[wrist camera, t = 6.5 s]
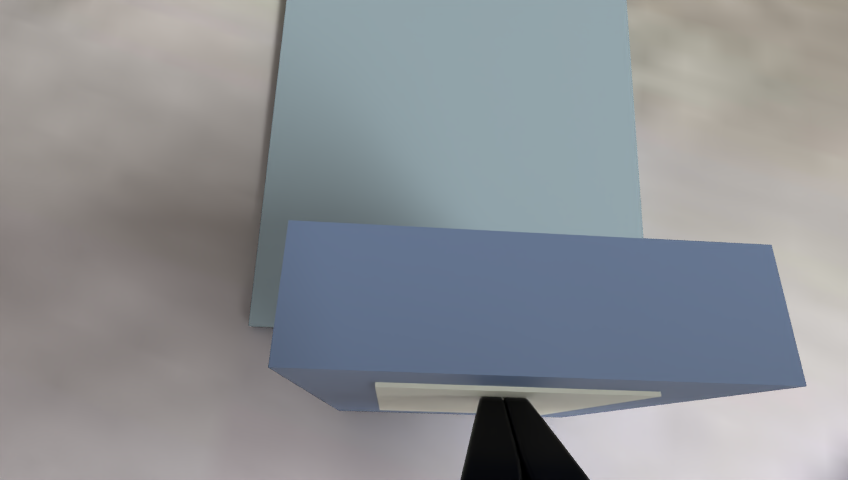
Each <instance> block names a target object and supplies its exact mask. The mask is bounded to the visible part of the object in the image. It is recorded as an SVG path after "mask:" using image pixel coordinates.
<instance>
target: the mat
mask: <svg viewBox="0 0 848 480" xmlns="http://www.w3.org/2000/svg"><path fill="white" fill-rule="evenodd" d="M288 220H296V221H315V222H335V223H354V224H373V225H393V226H412V227H432V228H451V229H471V230H490V231H510V232H529V233H549V234H568V235H587V236H607V237H626V238H643V227H642V213H641V199H640V185H639V171H638V157H637V143H636V129H635V115H634V101H633V86H632V72H631V58H630V44H629V30H628V16H627V2H626V0H287V1H286V10H285V18H284V27H283V35H282V44H281V52H280V61H279V70H278V78H277V87H276V95H275V104H274V112H273V121H272V129H271V138H270V146H269V155H268V163H267V172H266V181H265V189H264V198H263V206H262V215H261V223H260V232H259V240H258V249H257V257H256V266H255V274H254V283H253V292H252V300H251V309H250V317H249V326H252V327H274V322H275V314H276V307H277V300H278V293H279V285H280V278H281V271H282V264H283V256H284V249H285V242H286V235H287V227H288Z"/></svg>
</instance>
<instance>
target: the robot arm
mask: <svg viewBox="0 0 848 480" xmlns="http://www.w3.org/2000/svg"><path fill="white" fill-rule="evenodd" d="M461 480H590V479H589V478H588V477H587V475H586V474H585V473H584V472H583V470H582V469H581V468H580V466H579V465H578V464H577V462H576V461H575V460H574V459H573V457H572V456H571V455H570V453H569V452H568V451H567V449H566V448H565V447H564V446H563V444H562V443H561V442H560V440H559V439H558V438H557V436H556V435H555V434H554V433H553V431H552V430H551V429H550V427H549V426H548V425H547V423H546V422H545V421H544V420H543V418H542V417H541V416H540V414H539V413H538V412H537V410H536V409H535V408H534V406H533V405H532V404H531V403H530V401H529V400H528V399H526V398H514V397H506V398H504V399H502V398H501V397H484V396H483V397H481V398H480V399H479V403H478V407H477V412H476V416H475V420H474V424H473V429H472V433H471V437H470V441H469V446H468V450H467V454H466V458H465V463H464V467H463V471H462V476H461Z"/></svg>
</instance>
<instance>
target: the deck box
mask: <svg viewBox="0 0 848 480" xmlns="http://www.w3.org/2000/svg"><path fill="white" fill-rule="evenodd" d="M268 368H270V369H272V370H273V371H275V372H277V373H278V374H280V375H282V376H283V377H285V378H286V379H288V380H290V381H291V382H293V383H295V384H296V385H298V386H299V387H301V388H303V389H304V390H306V391H308V392H309V393H311V394H312V395H314V396H316V397H317V398H319V399H321V400H322V401H324V402H326V403H327V404H329V405H330V406H332V407H334V408H335V409H337V410H339V411H370V412H403V413H435V414H468V415H476V412H477V407H478V403H479V399H480V398H481V397H483V396H484V397H501V398H502V399H504V398H506V397H514V398H526V399H528V400H529V401H530V403H531V404H532V405H533V406H534V408H535V409H536V410H537V412H538V413H539V414H540V416H541V417H568V416H576V415H584V414H591V413H599V412H607V411H615V410H623V409H631V408H639V407H647V406H655V405H662V404H670V403H678V402H686V401H694V400H702V399H710V398H718V397H726V396H734V395H741V394H749V393H757V392H765V391H773V390H781V389H789V388H797V387H805V386H806V382H805V378H804V374H803V370H802V366H801V362H800V358H799V354H798V350H797V346H796V342H795V338H794V334H793V330H792V326H791V322H790V318H789V314H788V310H787V305H786V301H785V297H784V293H783V289H782V285H781V281H780V277H779V273H778V269H777V265H776V261H775V257H774V253H773V249H772V245H762V244H743V243H724V242H704V241H685V240H665V239H646V238H626V237H607V236H587V235H568V234H549V233H529V232H510V231H490V230H471V229H451V228H432V227H412V226H393V225H373V224H354V223H335V222H315V221H296V220H288V227H287V235H286V242H285V249H284V256H283V264H282V271H281V278H280V285H279V293H278V300H277V307H276V314H275V322H274V329H273V336H272V343H271V351H270V358H269V365H268Z"/></svg>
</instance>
